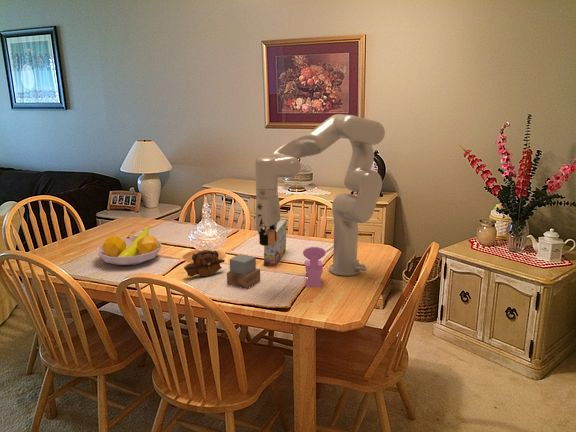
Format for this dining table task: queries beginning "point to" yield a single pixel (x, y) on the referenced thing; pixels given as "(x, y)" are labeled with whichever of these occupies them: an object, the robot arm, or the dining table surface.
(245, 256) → the slate block
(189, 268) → the wooden carving
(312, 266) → the pink tall piece
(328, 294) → the dining table surface
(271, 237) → the terracotta cylinder
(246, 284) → the walnut slab
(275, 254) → the snack box
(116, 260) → the fruit bowl
